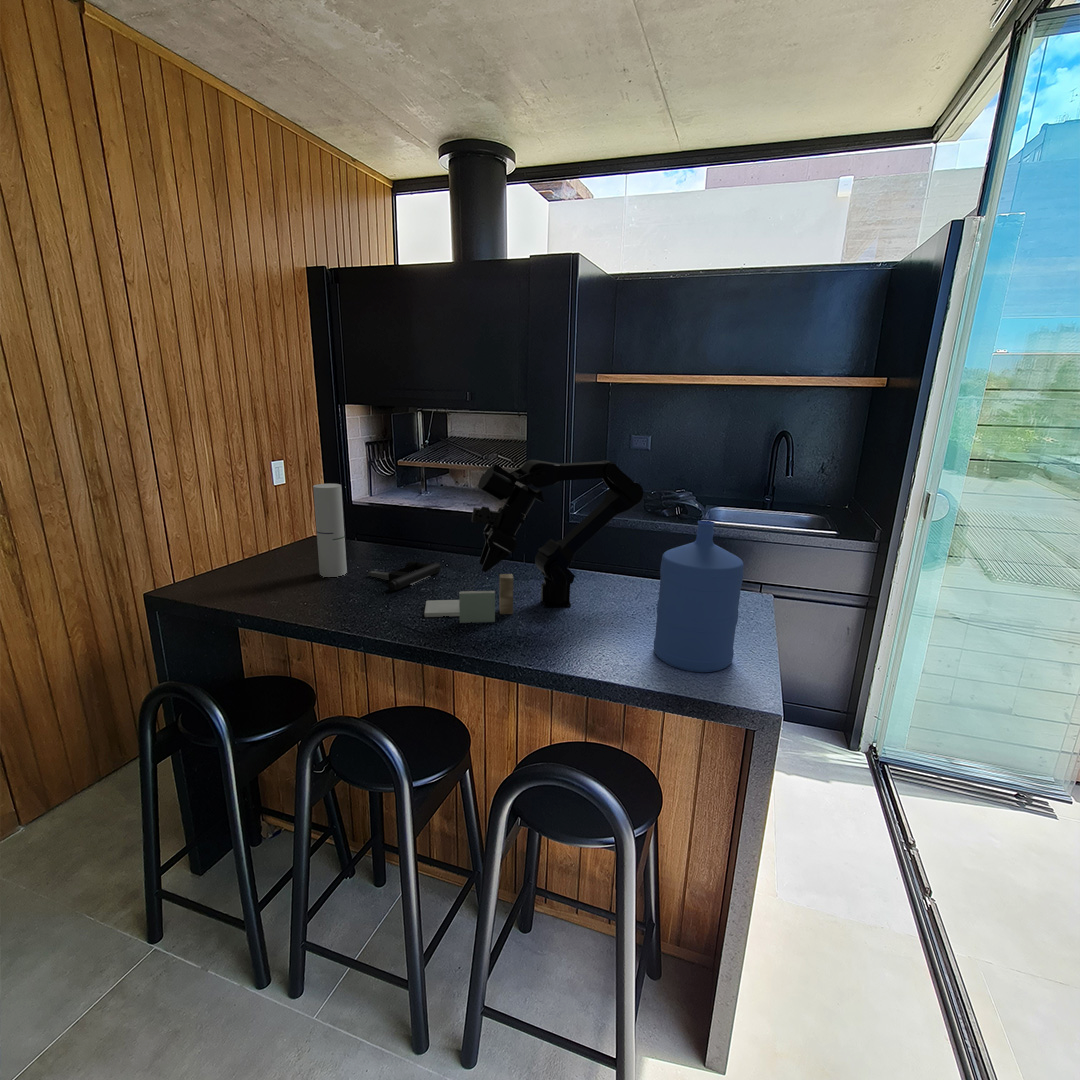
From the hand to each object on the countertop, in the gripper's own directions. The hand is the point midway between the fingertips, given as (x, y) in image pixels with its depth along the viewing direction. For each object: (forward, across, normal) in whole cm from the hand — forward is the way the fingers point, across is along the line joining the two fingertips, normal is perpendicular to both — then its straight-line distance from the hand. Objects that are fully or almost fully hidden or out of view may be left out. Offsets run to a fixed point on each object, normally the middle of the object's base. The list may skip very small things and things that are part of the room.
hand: (482, 567), depth 132 cm
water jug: (-8, +26, +43) cm, 51 cm away
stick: (+7, -1, +10) cm, 12 cm away
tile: (+11, +4, +5) cm, 12 cm away
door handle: (+17, -28, -14) cm, 36 cm away
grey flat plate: (+13, -3, -2) cm, 14 cm away
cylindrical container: (+26, -33, -31) cm, 52 cm away
